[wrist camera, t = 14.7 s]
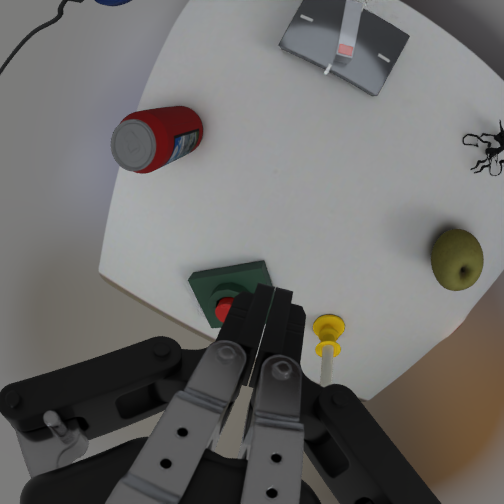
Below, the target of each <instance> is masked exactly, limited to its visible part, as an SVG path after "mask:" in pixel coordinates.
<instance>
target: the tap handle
mask: <svg viewBox="0 0 504 504" xmlns="http://www.w3.org/2000/svg"><path fill="white" fill-rule="evenodd" d="M362 5H363V3H361V2H357V1H354V0H346V2H345V6H344V10H343V15H342V20H341V26H340V31H339V36H338V41H337V46H336V51H335V56H334V61H338V62H342V63H346V64H348V63H349V62H350V61H351V60H352V58H353V53H354V48H355V43H356V38H357V33H358V27H359V22H360V16H361V11H362Z"/></svg>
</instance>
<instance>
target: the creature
mask: <svg viewBox="0 0 504 504" xmlns="http://www.w3.org/2000/svg"><path fill="white" fill-rule="evenodd" d="M500 130H501V132H500V133H499V134H497V135H491V134H485V133H483V134H482V135H481V137H482V136H483V135H485V136H494V139H495V140H496V141H498V142H499V143H500V147H499V148H489V147H491V143H490V142H488V141H483V140H482V139H481V138H480V137H478V136H477V135H474V134H467V135H469V136H474V137H477V138H478V139H479V140H480V141H481V142H483V143H488V148H487V149H486V151H485V153H486V155H487V158H488V154H489V158H488V160H489V163H490V160H491V161H492V159H493V158H495V157H496V156H495V155H496V154H497V155H498V154H499V153H500V152H502V151H503V150H504V130H503V128H502V126H501V120H500ZM467 135H465V136H464V137H463V144H464V145H473V144H465V143H464V138H465V137H466V136H467ZM477 141H478V140H477ZM474 146H477V147H478V144H477V145H474ZM494 156H495V157H494ZM492 157H493V158H492ZM491 158H492V159H491ZM497 160H498V157H497ZM486 161H487V159H485V160H483V161H481V160H478V161H477V165H476V166H475V167H474V168H471V170H472V169H475V168H477V167H478V165H479V163H484V162H486ZM495 161H496V160H495ZM496 163H497V161H496ZM499 163H500V166H501V171H502V163H504V160H500V161H499ZM490 165H491V163H490V164H488V165H483V166H482V167H481V169H480V171H477V172H474V173H478V172H481V171H482V170H483V169H484V168H485V167H489V166H490ZM490 169H491V166H490ZM501 171H500V173H501ZM500 173H499V174H500ZM490 174H491V173H490ZM499 174H498V175H499ZM491 175H492V174H491ZM492 176H497V175H492Z"/></svg>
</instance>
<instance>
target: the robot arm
mask: <svg viewBox="0 0 504 504" xmlns="http://www.w3.org/2000/svg"><path fill="white" fill-rule="evenodd" d="M67 1H74V2H79V3H81V2H83V1H84V0H63V1H62V2H61V4H60V5H59V7H58V15H57V16H56V17H55V18H53V19H52V20H50V21H48V22H46V23H44V24H42V25H41V26H39V27H37V28H36V29H34V30H33V31H31V32H30V33H29V34H28V35H27V36H26V37H25V38H24V39H23V40H22V41H21V42H20V43H19V45H18V46H17V47H16V48H15V49H14V51H13V52H12V53H11V55H10V56H9V57H8V58H7V60H6V61H5V62H4V64H3V65H2V67H1V68H0V74H1V73H2V72H3V70H4V68H5V67H6V66H7V64H8V63H9V62H10V60H11V59H12V58H13V57H14V55H15V54H16V53H17V52H18V50H19V49H20V48H21V47H22V46H23V45H24V44H25V42H26V41H27V40H28V39H30V38H31V36H33V35H34V34H35V33H37V32H38V31H40V30H41V29H43V28H46V27H48V26H49V25H51V24H53V23H55V22H57V21H58V20H59V19H60V18H61V17H62V15H63V8H64V6H65V4H66V2H67ZM274 288H275V287H274V286H270V285H266V284H263V283H259V282H258V284H257V287H256V290H255V293H254V294H253V293H250V292H246V291H242V292H240V293H239V294H238V295H236V296H235V297H234V300H233V302H232V304H231V307H230V309H229V311H228V314H227V316H226V318H225V320H224V323H223V325H222V327H221V330H220V332H219V334H218V337H217V339H216V341H215V342H214V343H212V344H210V345H209V346H208V347H207V348H204V349H200V350H188V349H181V347H180V345H179V344H178V343H177V342H176V341H175V340H173V339H171V338H169V337H163V336H158V337H153V338H150V339H148V340H145V341H142V342H139V343H136V344H133V345H131V346H128V347H125V348H122V349H119V350H116V351H113V352H111V353H107V354H105V355H102V356H99V357H96V358H93V359H90V360H87V361H84V362H81V363H77V364H75V365H71V366H68V367H65V368H62V369H59V370H55V371H52V372H49V373H46V374H42V375H39V376H36V377H32V378H29V379H26V380H23V381H19V382H15V383H12V384H9V385H7V386H5V387H4V388H3V389H2V390H1V392H0V412H1V413H2V415H3V416H4V417H5V418H6V419H7V420H8V421H9V422H10V423H11V425H12V427H13V428H14V429H15V431H16V434H17V437H18V441H19V444H20V447H21V451H22V454H23V457H24V459H25V463H26V466H27V468H28V471H29V474H30V476H31V480H29V481H28V482H27V483H26V485H25V486H24V488H23V490H22V493H21V496H20V504H321V502H320V500H319V499H318V497H317V496H316V494H315V492H314V491H313V490H312V489H311V487H310V486H309V485H308V484H307V483H306V482H304V481H303V480H302V479H301V477H302V476H301V475H302V463H303V450H304V452H305V453H306V455H307V456H308V458H309V459H310V461H311V462H312V464H313V465H314V467H315V468H316V470H317V471H318V473H319V474H320V476H321V477H322V479H323V480H324V482H325V483H326V485H327V486H328V487H329V489H330V490H331V492H332V493H333V495H334V496H335V497H336V499H337V500H338V501H339V503H340V504H441V503H440V501H439V500H438V499H437V498H436V496H435V495H434V494H433V493H432V491H431V490H430V489H429V488H428V487H427V485H426V484H425V482H424V481H423V480H422V479H421V478H420V476H419V475H418V474H417V472H416V471H415V470H414V469H413V467H412V466H411V465H410V464H409V462H408V461H407V460H406V459H405V457H404V456H403V455H402V454H401V452H400V451H399V450H398V449H397V447H396V446H395V445H394V443H393V442H392V441H391V440H390V438H389V437H388V436H387V435H386V433H385V432H384V431H383V430H382V428H381V427H380V426H379V425H378V423H377V422H376V421H375V419H374V418H373V417H372V416H371V414H370V413H369V412H368V410H367V409H366V408H365V407H364V405H363V404H362V403H361V401H360V400H359V399H358V398H357V396H356V395H355V394H354V393H353V392H352V390H350V389H349V388H348V387H346V386H343V385H340V384H331V385H328V386H326V387H322V386H320V385H318V384H316V383H315V382H313V381H311V380H310V379H309V378H307V377H306V376H305V374H304V373H303V371H302V369H301V365H300V360H301V352H302V345H303V337H304V328H305V327H304V326H305V320H306V314H305V312H304V310H303V307H302V306H299V305H295V304H291V301H292V295H293V291H289V290H286V289H282V288H278V287H276V290H275V294H274V297H273V301H272V304H271V308H270V311H269V307H270V303H271V300H272V296H273V292H274ZM268 311H269V315H268V318H267V314H268ZM266 318H267V322H266ZM265 322H266V326H265V329H264V325H265ZM263 329H264V333H263ZM262 333H263V337H262V340H261V336H262ZM260 340H261V344H260V348H259V351H258V355H257V358H256V362H255V365H254V369H253V373H252V376H251V380H250V383H249V387H252V388H254V389H253V392H252V396H251V399H250V402H249V405H248V410H247V416H246V421H245V426H244V432H243V437H242V442H241V447H240V451H239V454H238V458H237V459H233V458H232V459H231V458H225V457H222V456H221V455H219V454H217V453H215V452H214V451H215V448H216V445H217V442H218V439H219V437H220V435H221V433H222V431H223V428H224V426H225V424H226V421H227V419H228V416H229V414H230V412H231V410H232V407H233V405H234V402H235V400H236V399H237V397H238V395H239V392H240V388H241V386H242V385H244V386H247V384H248V380H249V377H250V374H251V370H252V367H253V364H254V361H255V357H256V354H257V350H258V347H259V343H260ZM164 410H165V411H164ZM162 411H164V413H163V415H162V416H161V418H160V420H159V421H158V423H157V425H156V426H155V428H154V430H153V431H152V433H151V435H150V436H149V437H141V438H136V439H133V440H130V441H127V442H125V443H123V444H120V445H118V446H116V447H113V448H111V449H109V450H106V451H104V452H101V453H99V454H96V455H94V456H91V457H89V458H86V459H83V460H81V461H78V462H76V463H72V462H73V461H74V460H76V459H77V458H79V457H81V456H82V455H84V454H85V452H86V451H87V448H88V440H91V439H93V438H96V437H99V436H102V435H105V434H107V433H110V432H113V431H115V430H118V429H121V428H123V427H126V426H128V425H131V424H133V423H136V422H138V421H140V420H143V419H145V418H148V417H150V416H152V415H155V414H157V413H159V412H162Z"/></svg>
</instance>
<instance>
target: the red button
mask: <svg viewBox="0 0 504 504" xmlns="http://www.w3.org/2000/svg"><path fill="white" fill-rule="evenodd" d="M233 300H234V298H233V297H225V298H222V299H221V300H220V301H219V303H218V305H217V307H216V309H215V314H216V317H217V318H218V319H219V320H220V321H221V322H223V323H224V320H225V318H226V316H227V314H228V311H229V309H230V307H231V304H232V302H233Z"/></svg>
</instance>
